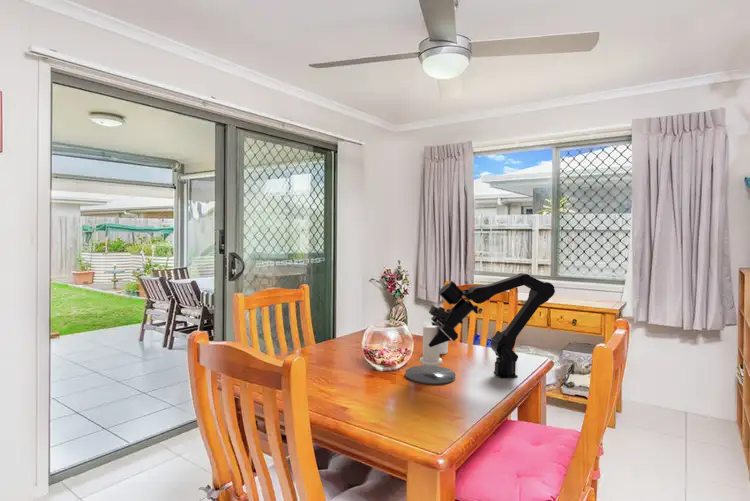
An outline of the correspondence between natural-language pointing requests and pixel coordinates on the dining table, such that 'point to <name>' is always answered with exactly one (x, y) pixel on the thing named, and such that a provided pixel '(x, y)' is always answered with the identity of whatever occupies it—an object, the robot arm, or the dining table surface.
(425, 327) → the white flanged cylinder
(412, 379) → the hub plate
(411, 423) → the dining table surface
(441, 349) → the white cup
